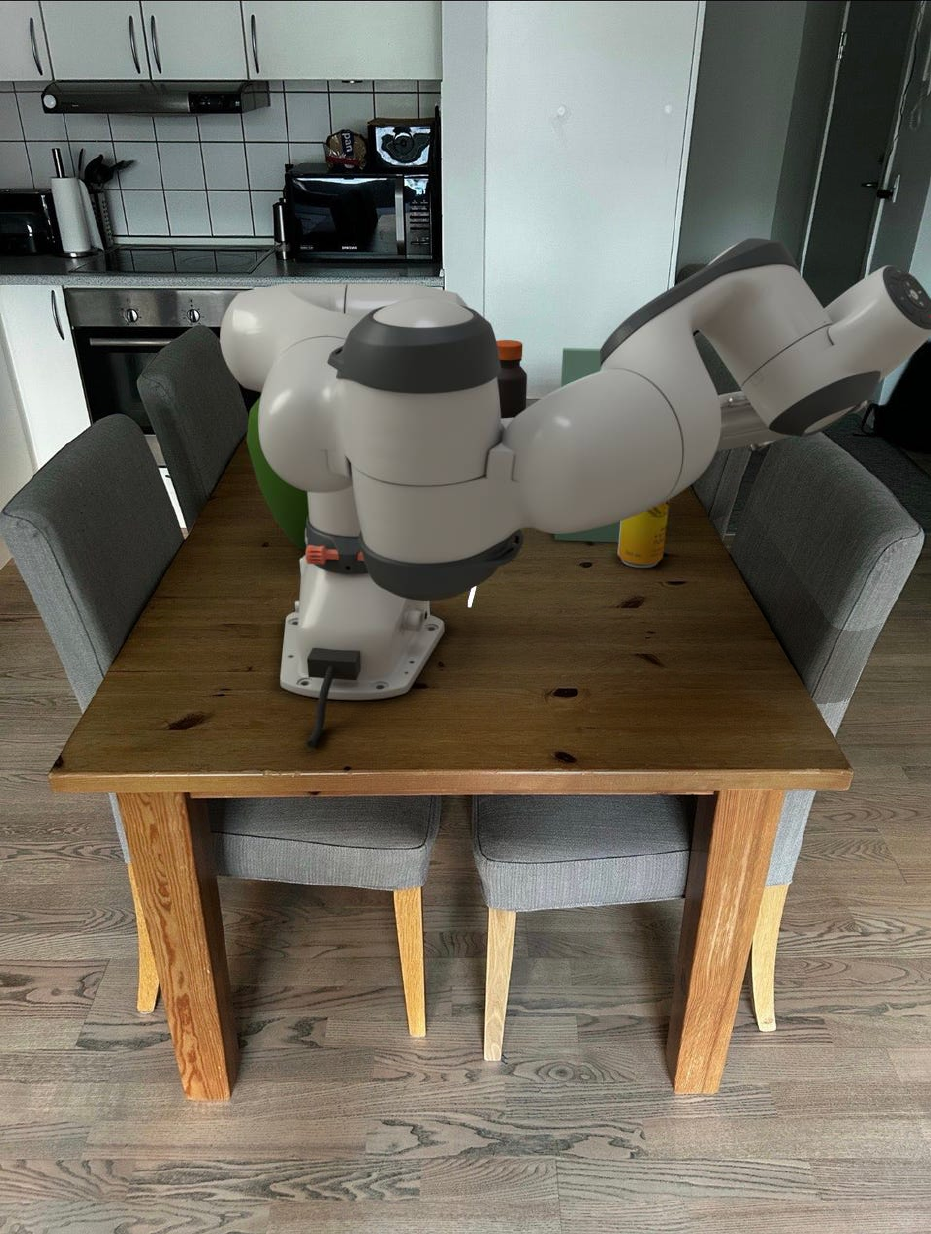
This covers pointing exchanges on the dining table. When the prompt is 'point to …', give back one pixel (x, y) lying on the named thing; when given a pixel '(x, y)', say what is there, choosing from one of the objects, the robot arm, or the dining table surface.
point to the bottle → (511, 379)
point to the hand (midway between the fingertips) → (720, 451)
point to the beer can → (643, 537)
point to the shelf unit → (573, 368)
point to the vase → (278, 488)
